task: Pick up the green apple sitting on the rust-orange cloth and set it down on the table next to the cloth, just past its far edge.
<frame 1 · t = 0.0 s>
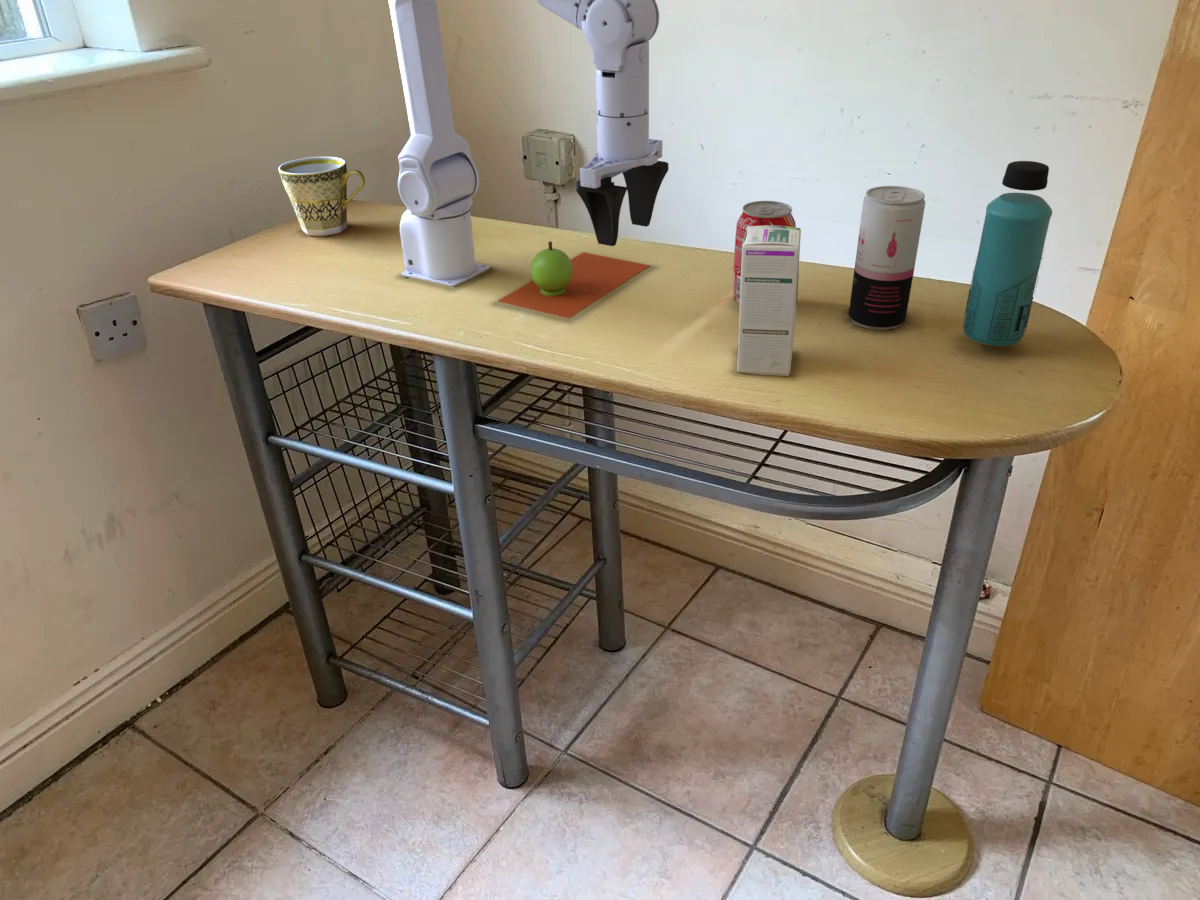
hand: (624, 234, 104), 10 cm above the table, tool pointing down, fingers open, 7 cm apart
soda can: (760, 304, 111), on the table
ceramic cup: (334, 230, 140), on the table
beverage can: (876, 321, 106), on the table
beverage bottle: (988, 347, 100), on the table
syrup box: (763, 364, 98), on the table
cloth: (576, 285, 118), on the table
apple: (553, 291, 115), resting on cloth
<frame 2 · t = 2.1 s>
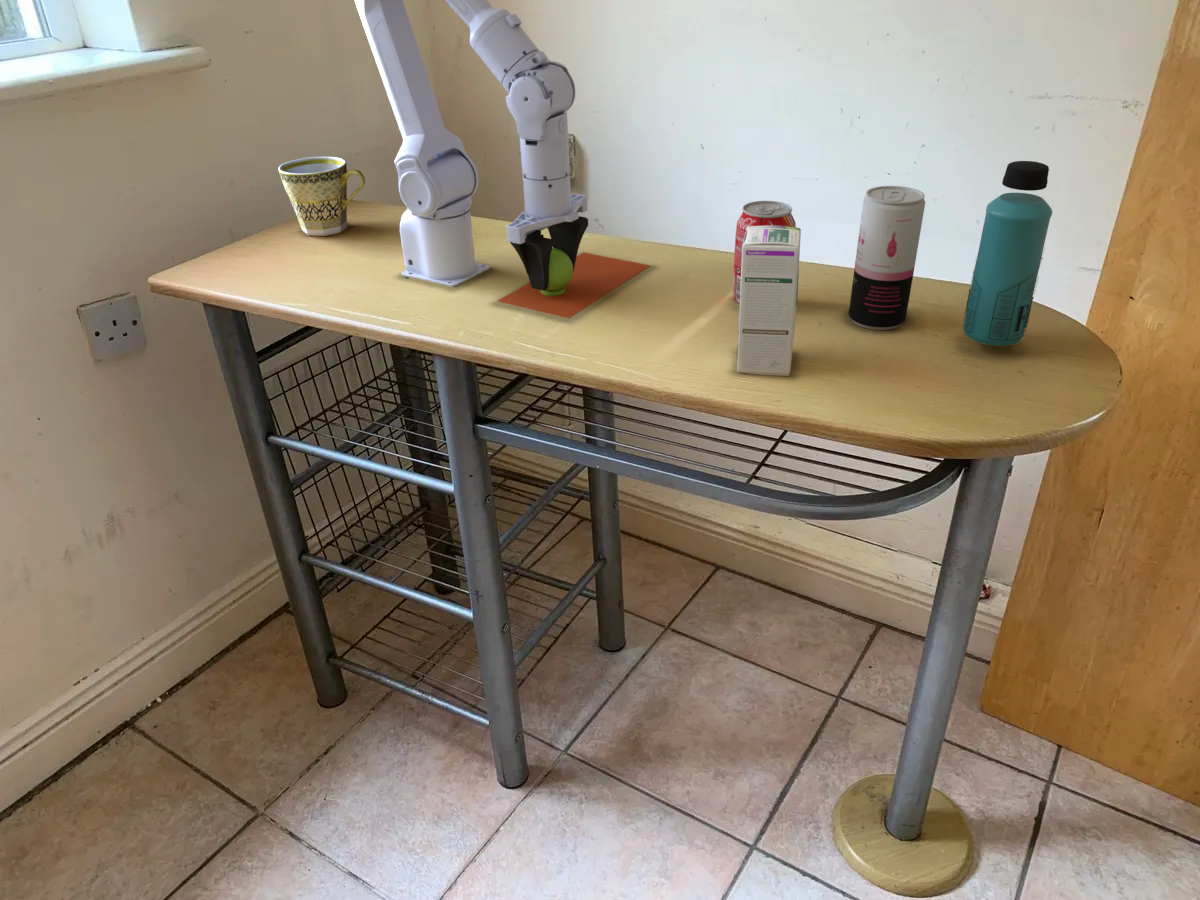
hand: (552, 281, 115), 2 cm above the table, tool pointing down, fingers closed on apple, 5 cm apart
apple: (553, 291, 115), resting on cloth, touching gripper
everything else where it was.
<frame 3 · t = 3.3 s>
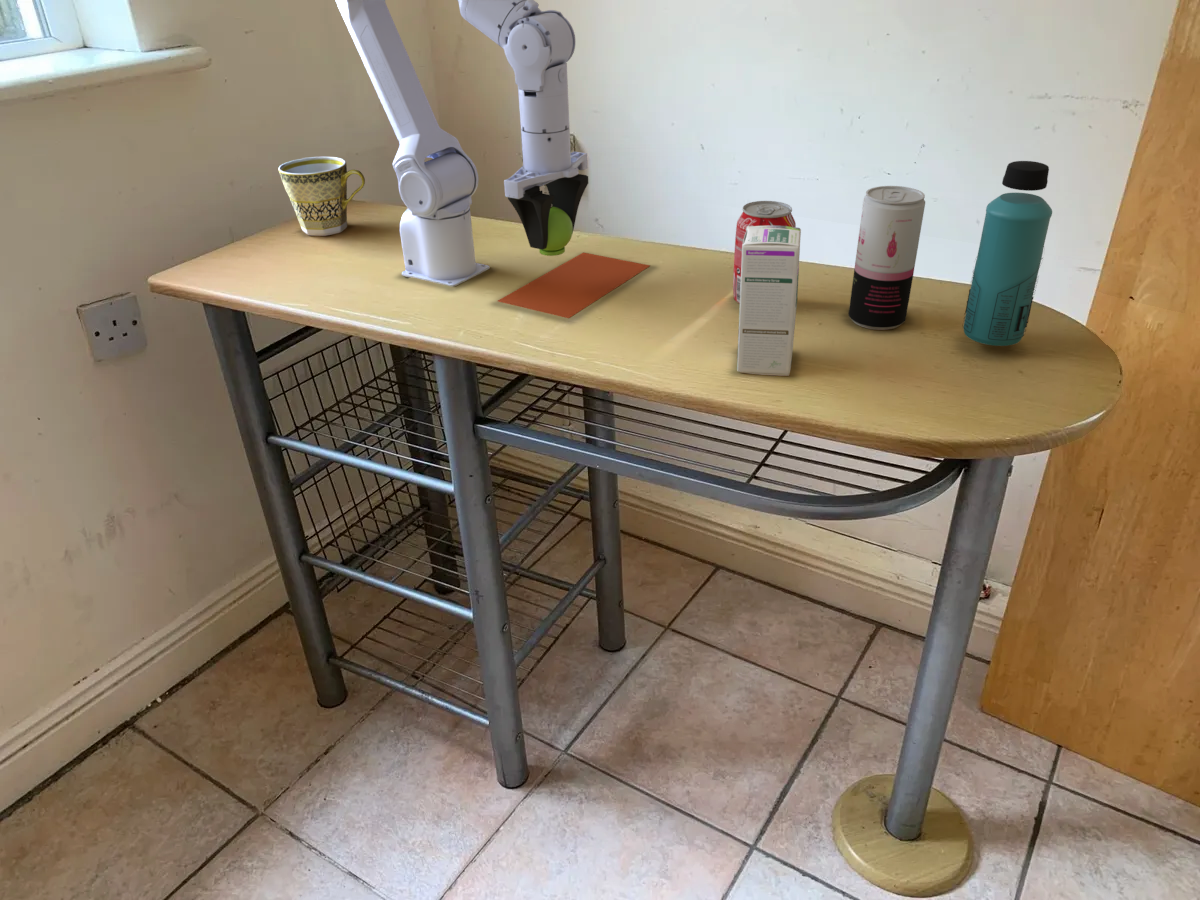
hand: (551, 240, 112), 7 cm above the table, tool pointing down, fingers closed on apple, 5 cm apart
apple: (552, 251, 113), point 6 cm above the table, touching gripper
everything else where it was.
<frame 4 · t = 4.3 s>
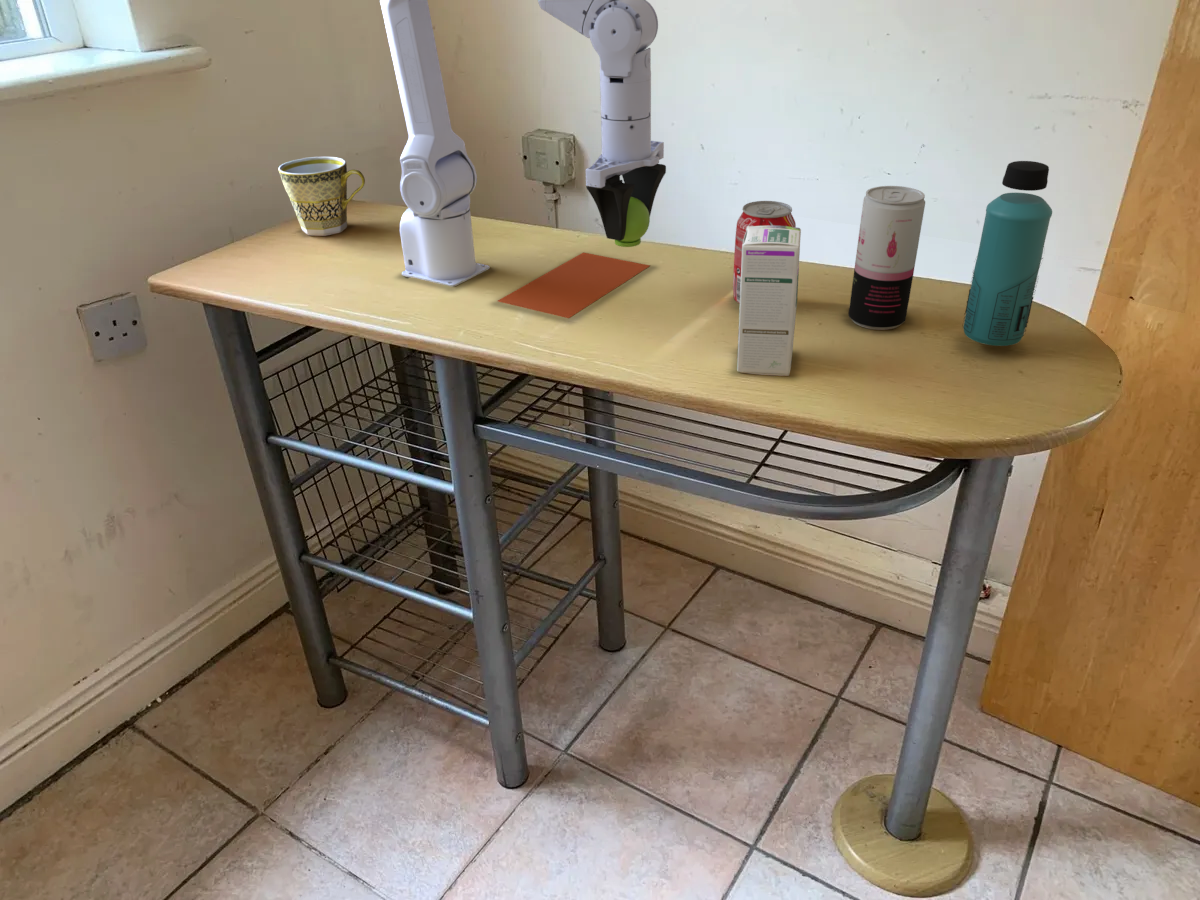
hand: (627, 231, 109), 9 cm above the table, tool pointing down, fingers closed on apple, 5 cm apart
apple: (627, 242, 110), point 7 cm above the table, touching gripper
everything else where it was.
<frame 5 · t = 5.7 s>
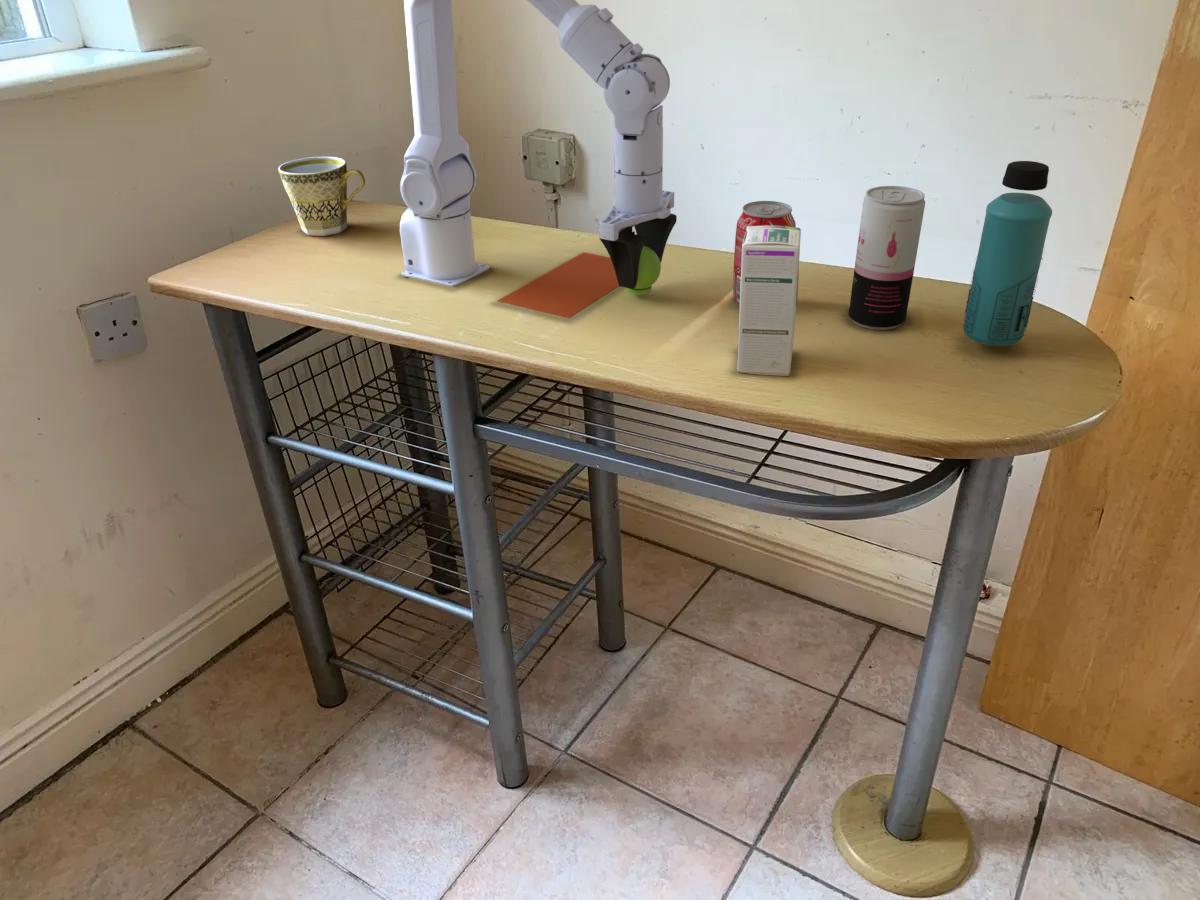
hand: (638, 279, 112), 3 cm above the table, tool pointing down, fingers closed on apple, 5 cm apart
apple: (639, 289, 113), point 1 cm above the table, touching gripper
everything else where it was.
when the fingers open (1 cm above the table, at t = 6.6 s): apple stays where it is, on the table.
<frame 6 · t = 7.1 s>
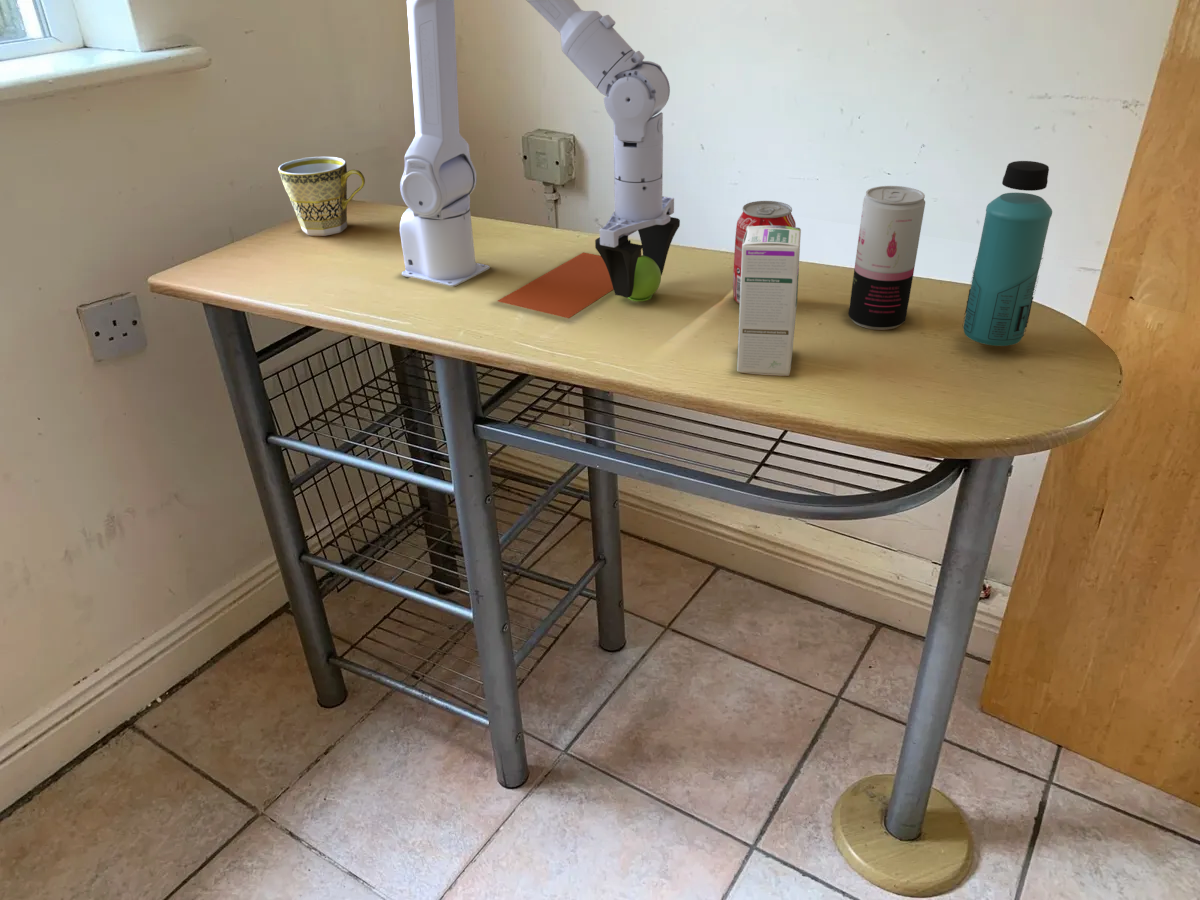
hand: (638, 284, 113), 2 cm above the table, tool pointing down, fingers open, 7 cm apart
apple: (639, 298, 114), on the table
everything else where it was.
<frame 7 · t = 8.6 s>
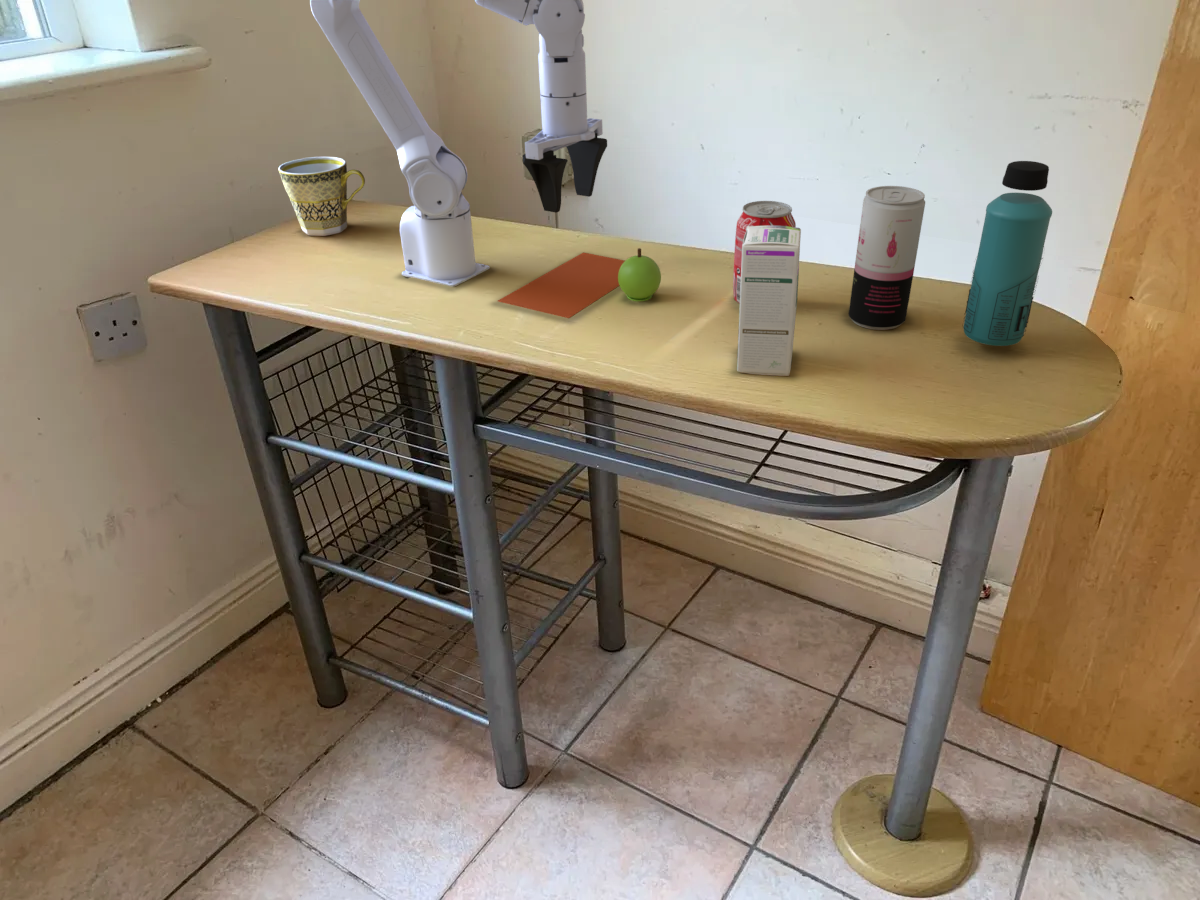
hand: (568, 202, 117), 9 cm above the table, tool pointing down, fingers open, 7 cm apart
nothing on the table moved.
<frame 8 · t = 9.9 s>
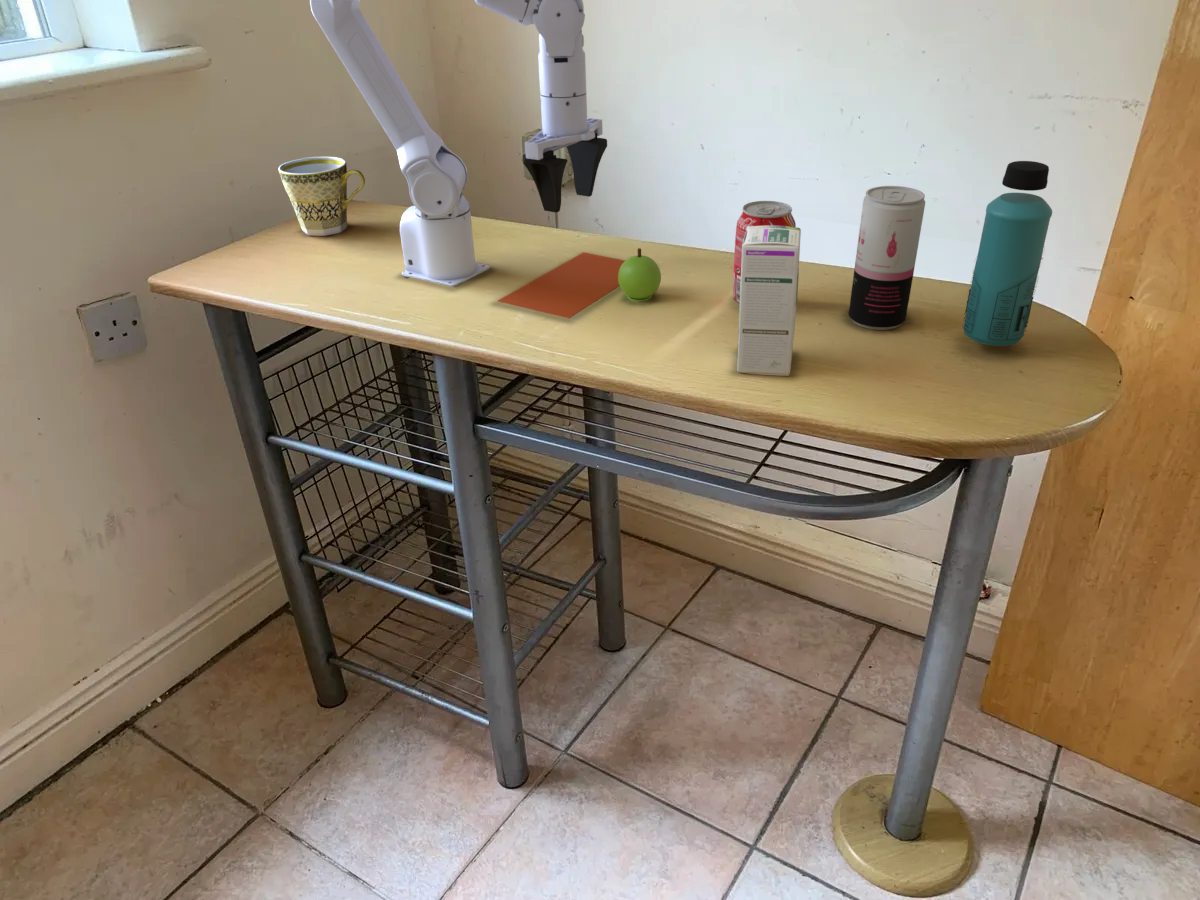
hand: (568, 202, 117), 9 cm above the table, tool pointing down, fingers open, 7 cm apart
nothing on the table moved.
at the end: apple inside the target area on the table beside the cloth (0.7 cm from its centre), on the table; apple touching table; the gripper is holding nothing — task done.
